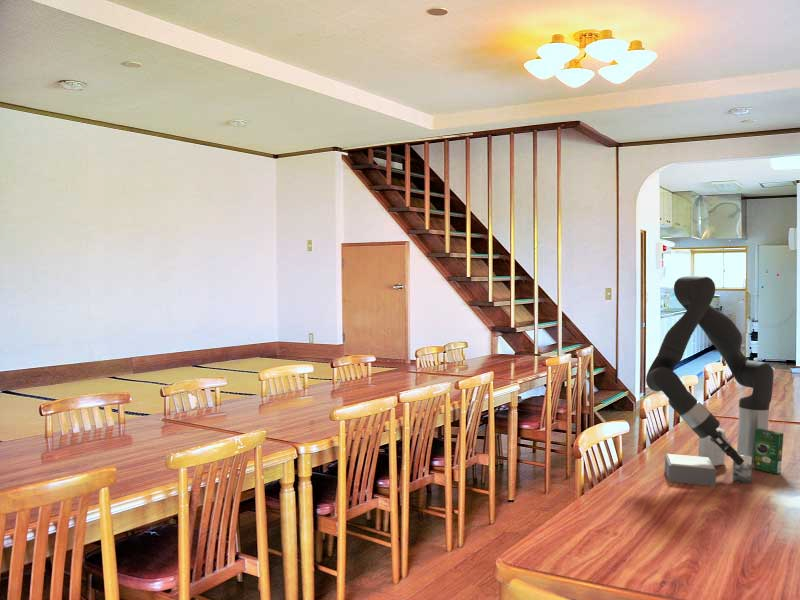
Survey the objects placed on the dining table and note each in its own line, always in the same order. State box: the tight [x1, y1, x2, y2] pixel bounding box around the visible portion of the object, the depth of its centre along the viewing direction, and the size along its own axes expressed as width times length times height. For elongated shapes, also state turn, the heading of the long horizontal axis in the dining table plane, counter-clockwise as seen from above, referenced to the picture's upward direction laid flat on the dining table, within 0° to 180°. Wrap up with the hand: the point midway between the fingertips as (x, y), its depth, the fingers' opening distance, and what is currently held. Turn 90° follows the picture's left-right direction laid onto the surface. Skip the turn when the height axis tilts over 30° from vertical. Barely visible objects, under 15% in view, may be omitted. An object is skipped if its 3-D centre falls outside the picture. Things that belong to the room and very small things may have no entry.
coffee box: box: [752, 428, 784, 475], centre depth 223 cm, size 8×3×13 cm, turn 33°
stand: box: [664, 453, 717, 487], centre depth 214 cm, size 13×13×6 cm
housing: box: [732, 453, 753, 484], centre depth 212 cm, size 5×5×8 cm
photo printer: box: [698, 427, 727, 467], centre depth 230 cm, size 10×4×12 cm, turn 123°
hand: (738, 459), depth 212 cm, fingers open, 8 cm apart
